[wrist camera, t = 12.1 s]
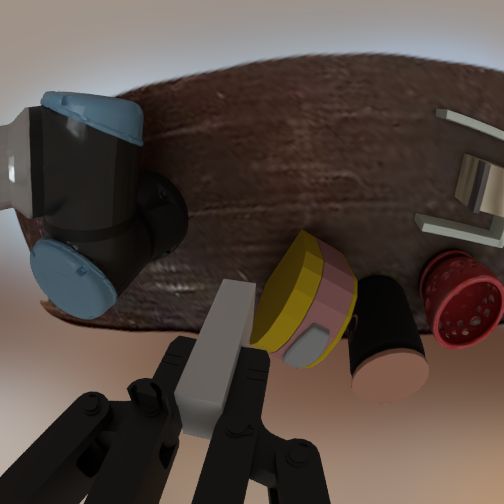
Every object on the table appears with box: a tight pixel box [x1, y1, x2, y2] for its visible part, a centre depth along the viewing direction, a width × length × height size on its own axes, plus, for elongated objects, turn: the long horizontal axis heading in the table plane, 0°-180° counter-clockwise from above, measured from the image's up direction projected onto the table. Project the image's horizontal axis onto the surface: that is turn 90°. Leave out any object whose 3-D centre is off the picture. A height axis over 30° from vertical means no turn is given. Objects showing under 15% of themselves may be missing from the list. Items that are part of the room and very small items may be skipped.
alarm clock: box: [249, 229, 357, 368], centre depth 42 cm, size 15×8×18 cm, turn 153°
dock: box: [414, 109, 504, 248], centre depth 35 cm, size 16×17×4 cm
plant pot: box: [419, 250, 504, 350], centre depth 40 cm, size 13×13×12 cm
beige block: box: [454, 153, 504, 217], centre depth 34 cm, size 9×7×7 cm
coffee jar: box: [347, 277, 429, 404], centre depth 42 cm, size 11×11×18 cm
